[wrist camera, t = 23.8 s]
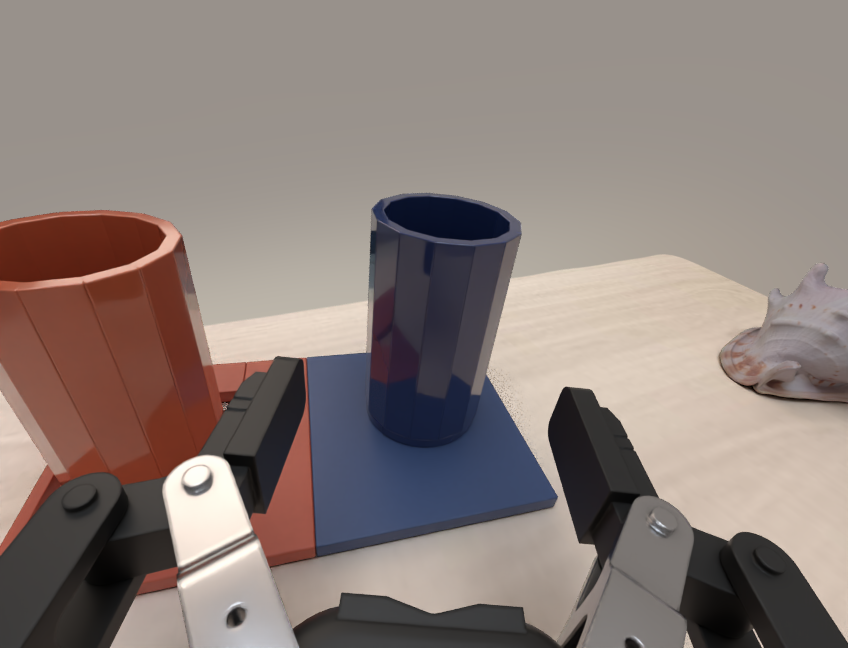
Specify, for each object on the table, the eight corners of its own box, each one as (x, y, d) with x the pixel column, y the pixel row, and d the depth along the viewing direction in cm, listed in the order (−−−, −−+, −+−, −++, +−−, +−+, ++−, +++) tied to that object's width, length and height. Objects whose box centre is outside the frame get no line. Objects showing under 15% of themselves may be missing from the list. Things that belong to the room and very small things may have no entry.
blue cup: (375, 457, 19) (389, 245, 13) (358, 372, 24) (362, 190, 18) (492, 440, 21) (550, 245, 15) (453, 364, 26) (486, 194, 20)
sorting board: (-32, 631, 13) (-45, 621, 13) (104, 383, 23) (99, 373, 22) (553, 507, 19) (558, 497, 19) (467, 353, 29) (469, 344, 28)
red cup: (44, 540, 16) (-147, 295, 10) (104, 419, 21) (4, 207, 15) (219, 510, 17) (152, 286, 11) (236, 405, 22) (195, 211, 16)
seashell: (914, 403, 29) (1035, 292, 24) (833, 446, 25) (961, 320, 20) (770, 327, 37) (839, 230, 32) (687, 350, 32) (752, 240, 27)
